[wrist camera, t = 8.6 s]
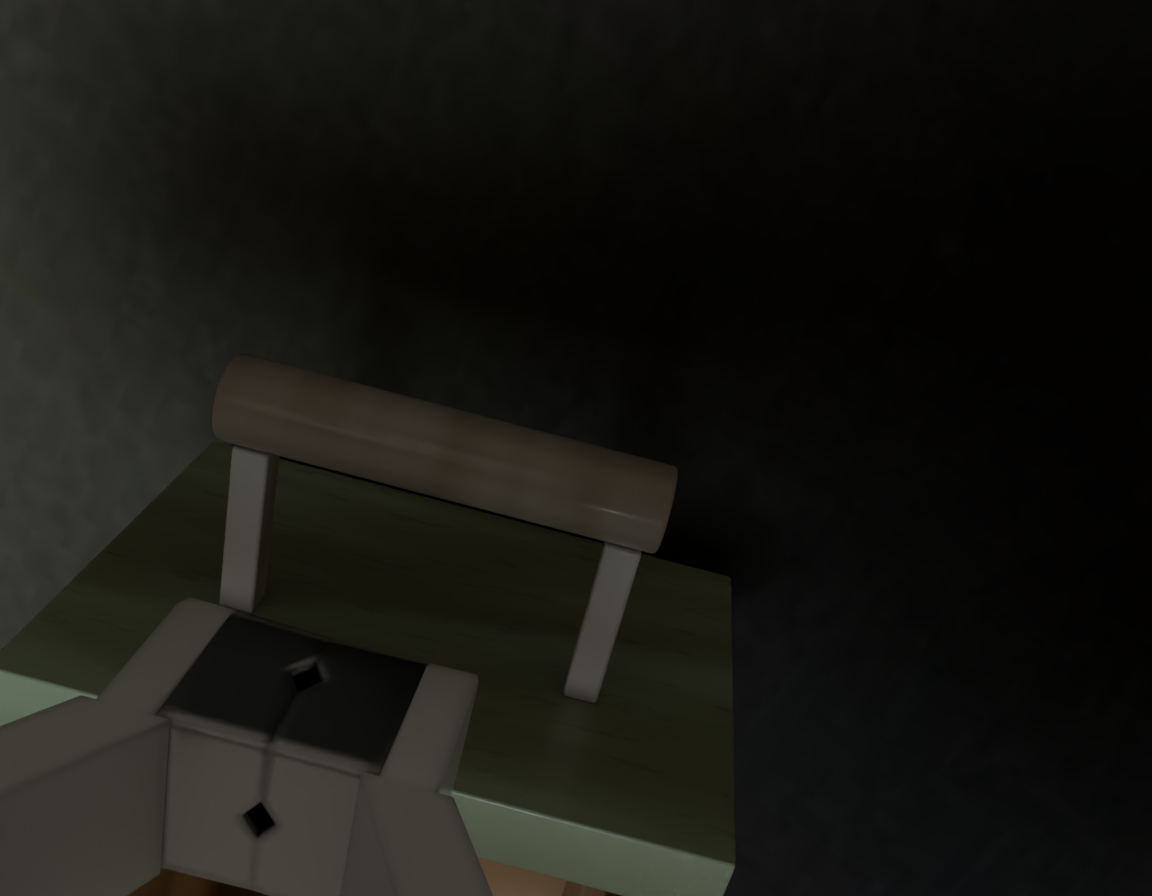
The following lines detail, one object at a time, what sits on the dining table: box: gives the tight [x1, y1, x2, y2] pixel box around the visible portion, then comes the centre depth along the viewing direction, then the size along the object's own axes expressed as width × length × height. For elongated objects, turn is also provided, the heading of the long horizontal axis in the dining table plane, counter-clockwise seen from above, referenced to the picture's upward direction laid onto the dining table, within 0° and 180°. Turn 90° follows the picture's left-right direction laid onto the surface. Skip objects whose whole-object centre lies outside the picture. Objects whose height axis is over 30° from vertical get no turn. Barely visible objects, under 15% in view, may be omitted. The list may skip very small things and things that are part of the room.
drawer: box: [0, 354, 735, 896], centre depth 21 cm, size 18×11×8 cm, turn 167°
